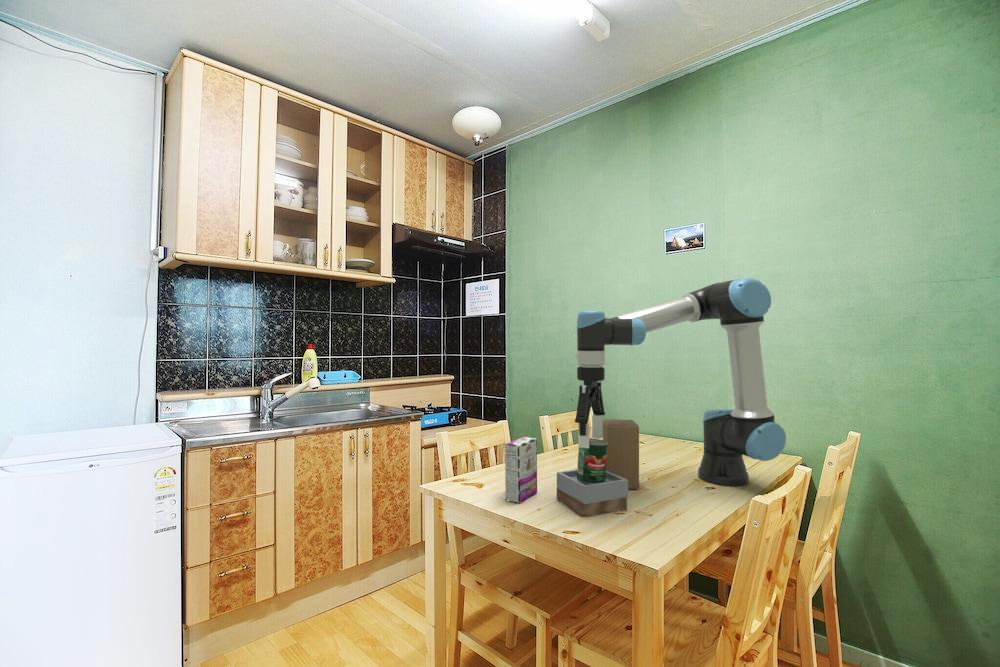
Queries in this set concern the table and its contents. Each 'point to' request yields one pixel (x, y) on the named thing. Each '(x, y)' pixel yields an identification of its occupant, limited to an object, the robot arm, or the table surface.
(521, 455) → the candy bar box
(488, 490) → the table surface
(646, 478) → the table surface
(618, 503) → the walnut block
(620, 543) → the table surface
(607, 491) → the slate grey tray
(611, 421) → the block
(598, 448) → the canned tomato
